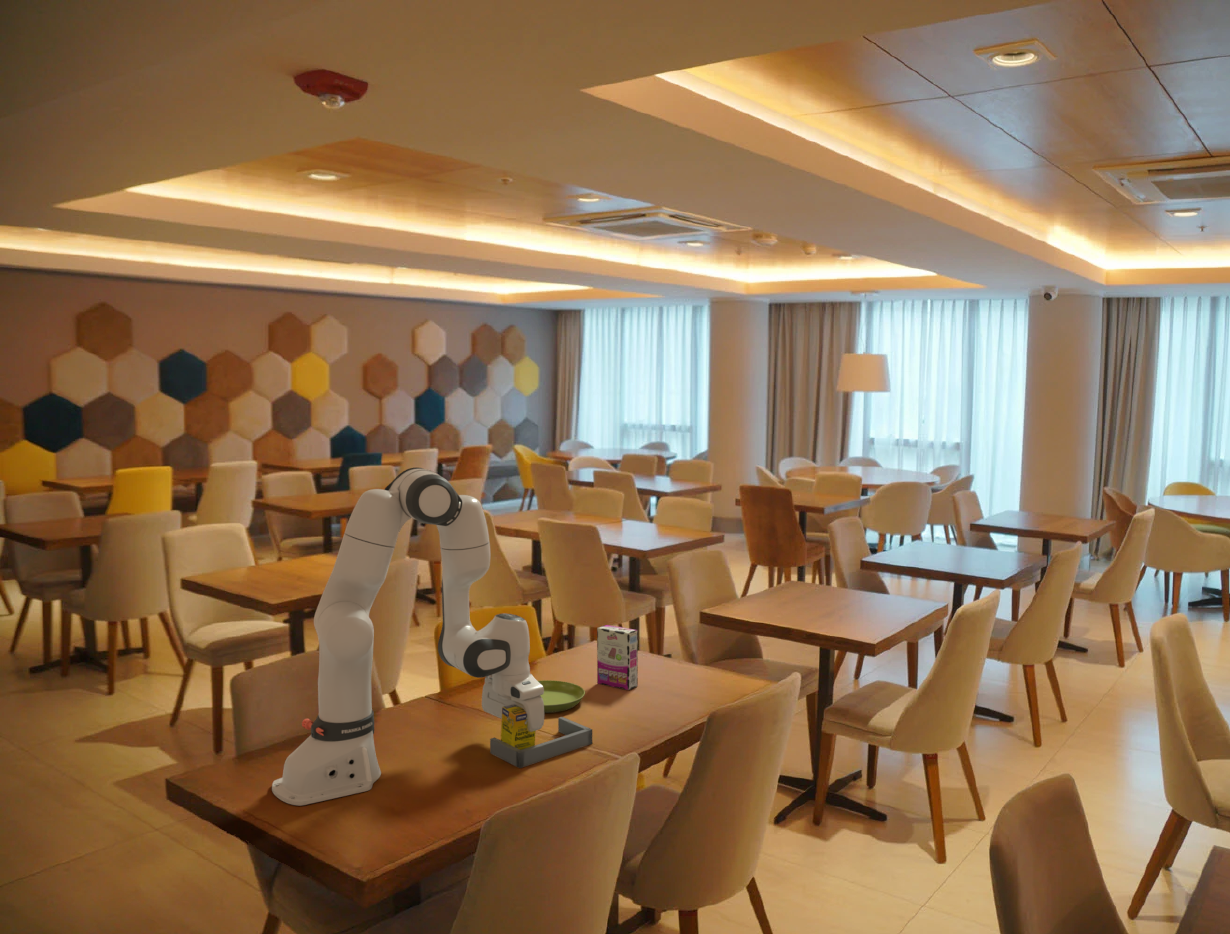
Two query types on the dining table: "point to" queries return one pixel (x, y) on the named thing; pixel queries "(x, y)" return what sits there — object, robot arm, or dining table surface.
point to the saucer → (560, 695)
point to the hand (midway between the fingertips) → (512, 738)
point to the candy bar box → (617, 657)
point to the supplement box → (516, 728)
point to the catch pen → (544, 745)
